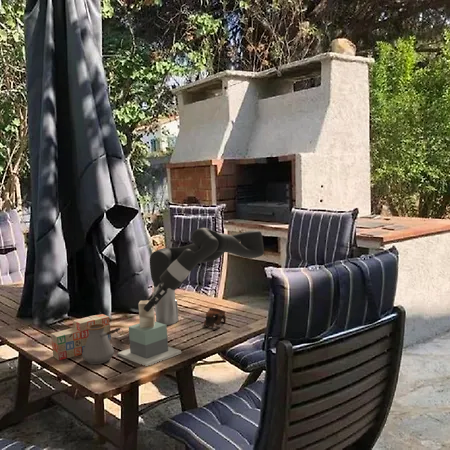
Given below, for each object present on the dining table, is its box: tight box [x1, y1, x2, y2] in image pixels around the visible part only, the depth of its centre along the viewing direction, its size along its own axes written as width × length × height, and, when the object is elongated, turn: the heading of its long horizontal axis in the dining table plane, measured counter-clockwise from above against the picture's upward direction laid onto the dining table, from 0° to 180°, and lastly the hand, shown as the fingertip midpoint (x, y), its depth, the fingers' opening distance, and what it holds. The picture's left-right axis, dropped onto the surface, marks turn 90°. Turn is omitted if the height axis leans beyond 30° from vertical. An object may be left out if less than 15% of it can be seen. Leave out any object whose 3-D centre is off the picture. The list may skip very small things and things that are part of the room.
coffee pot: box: [81, 324, 124, 365], centre depth 185 cm, size 21×12×15 cm, turn 46°
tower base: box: [117, 321, 182, 367], centre depth 192 cm, size 16×18×11 cm
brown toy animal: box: [203, 307, 227, 328], centre depth 224 cm, size 12×10×8 cm
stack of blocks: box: [50, 313, 112, 361], centre depth 199 cm, size 21×6×12 cm, turn 128°
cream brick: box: [138, 299, 156, 328], centre depth 191 cm, size 5×5×9 cm
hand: (146, 307), depth 190 cm, fingers open, 8 cm apart
